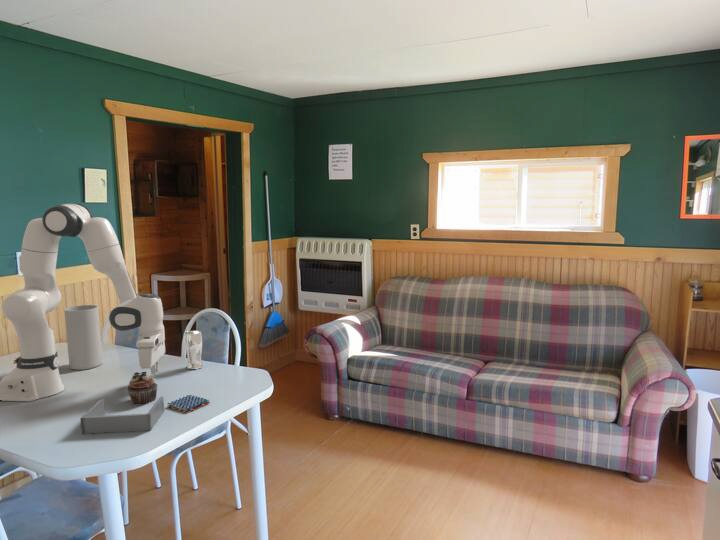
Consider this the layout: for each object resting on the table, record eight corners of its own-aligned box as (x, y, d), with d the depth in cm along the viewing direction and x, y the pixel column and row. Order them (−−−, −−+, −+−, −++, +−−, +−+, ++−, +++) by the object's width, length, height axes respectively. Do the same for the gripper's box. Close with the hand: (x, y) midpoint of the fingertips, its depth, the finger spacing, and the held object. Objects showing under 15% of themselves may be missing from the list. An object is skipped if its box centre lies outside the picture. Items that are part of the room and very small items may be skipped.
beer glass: (198, 370, 217) (196, 334, 215) (182, 369, 218) (180, 334, 216) (206, 365, 224) (204, 330, 222) (191, 364, 225) (189, 330, 223)
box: (81, 434, 159) (80, 418, 158) (101, 414, 174) (100, 399, 173) (150, 430, 161) (149, 414, 160) (164, 411, 176) (163, 396, 175)
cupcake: (159, 402, 183) (157, 374, 182) (129, 407, 179) (127, 378, 178) (157, 393, 192) (155, 366, 191) (127, 398, 188) (125, 370, 186)
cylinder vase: (108, 364, 228) (104, 306, 224) (80, 372, 217) (74, 312, 214) (91, 359, 235) (87, 304, 231) (63, 367, 224) (58, 309, 221)
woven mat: (187, 415, 173) (186, 409, 173) (165, 409, 179) (165, 403, 178) (211, 404, 182) (211, 399, 181) (190, 398, 187) (190, 393, 187)
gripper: (151, 330, 207) (153, 364, 209) (134, 344, 187) (137, 382, 189) (168, 329, 208) (170, 364, 210) (152, 343, 188) (155, 381, 189)
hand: (154, 372), depth 199 cm, fingers closed
